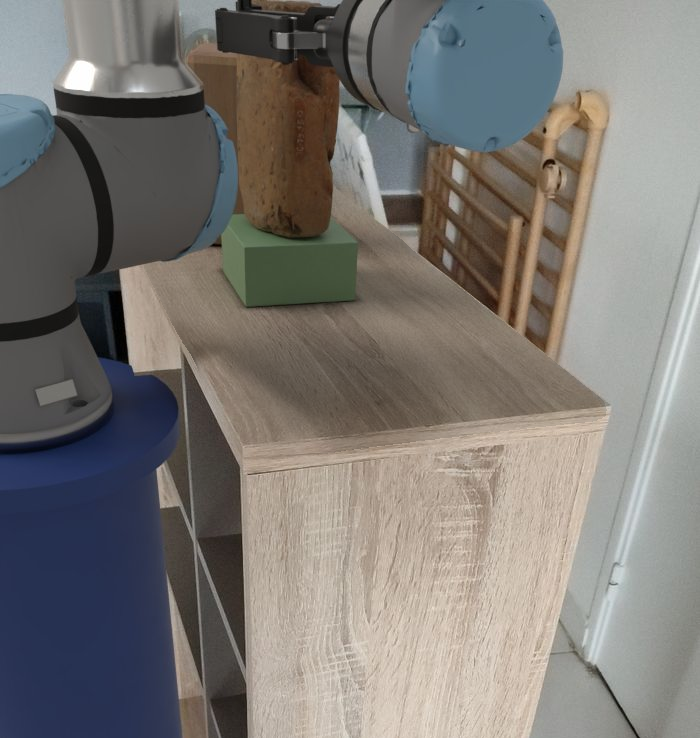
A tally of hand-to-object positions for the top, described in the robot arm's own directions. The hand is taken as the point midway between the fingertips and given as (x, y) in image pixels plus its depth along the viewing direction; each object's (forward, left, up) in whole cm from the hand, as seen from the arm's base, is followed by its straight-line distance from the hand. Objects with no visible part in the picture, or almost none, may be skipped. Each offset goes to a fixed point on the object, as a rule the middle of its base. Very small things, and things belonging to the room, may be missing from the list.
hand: (315, 22), depth 73 cm
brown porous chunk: (+1, +13, -20) cm, 24 cm away
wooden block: (0, +32, -26) cm, 41 cm away
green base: (+1, +13, -25) cm, 29 cm away
